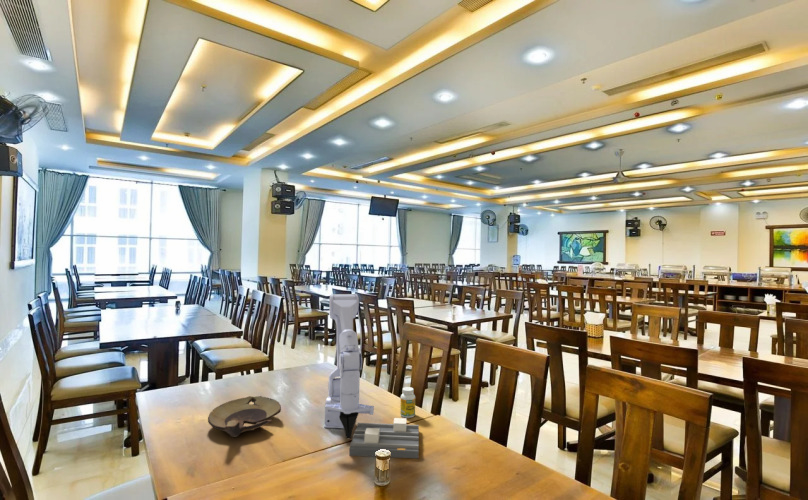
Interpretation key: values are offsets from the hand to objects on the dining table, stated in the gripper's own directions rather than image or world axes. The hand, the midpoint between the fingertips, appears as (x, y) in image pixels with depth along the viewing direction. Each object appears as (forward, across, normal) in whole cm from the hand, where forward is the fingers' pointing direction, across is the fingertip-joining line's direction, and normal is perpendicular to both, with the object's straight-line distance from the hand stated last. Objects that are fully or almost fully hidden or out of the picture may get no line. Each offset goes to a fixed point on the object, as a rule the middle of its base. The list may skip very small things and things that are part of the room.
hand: (348, 436), depth 119 cm
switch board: (+3, +11, +4) cm, 12 cm away
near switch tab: (+1, +7, 0) cm, 7 cm away
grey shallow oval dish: (+4, -38, +10) cm, 39 cm away
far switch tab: (+1, +15, +8) cm, 17 cm away
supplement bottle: (+3, +17, +25) cm, 30 cm away
